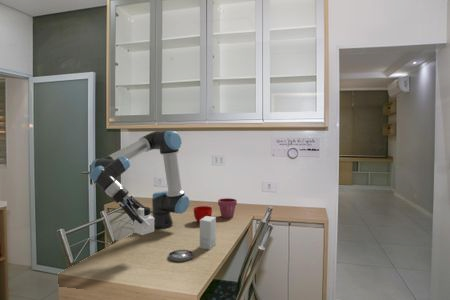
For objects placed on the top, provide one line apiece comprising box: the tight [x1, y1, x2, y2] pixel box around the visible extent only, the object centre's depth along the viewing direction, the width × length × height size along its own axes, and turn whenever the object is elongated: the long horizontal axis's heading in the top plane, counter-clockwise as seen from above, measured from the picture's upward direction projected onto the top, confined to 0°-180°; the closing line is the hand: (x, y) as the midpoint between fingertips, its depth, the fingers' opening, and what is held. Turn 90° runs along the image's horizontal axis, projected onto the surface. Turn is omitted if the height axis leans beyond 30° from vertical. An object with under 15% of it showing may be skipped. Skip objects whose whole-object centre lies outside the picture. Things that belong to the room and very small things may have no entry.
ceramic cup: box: [193, 205, 213, 224], centre depth 192 cm, size 13×17×10 cm
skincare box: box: [199, 216, 217, 250], centre depth 148 cm, size 8×7×16 cm
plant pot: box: [217, 197, 238, 219], centre depth 208 cm, size 14×14×13 cm
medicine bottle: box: [133, 206, 155, 236], centre depth 134 cm, size 7×7×12 cm
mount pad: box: [168, 249, 194, 263], centre depth 135 cm, size 12×12×1 cm
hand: (150, 223), depth 134 cm, fingers closed on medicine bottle, 10 cm apart
